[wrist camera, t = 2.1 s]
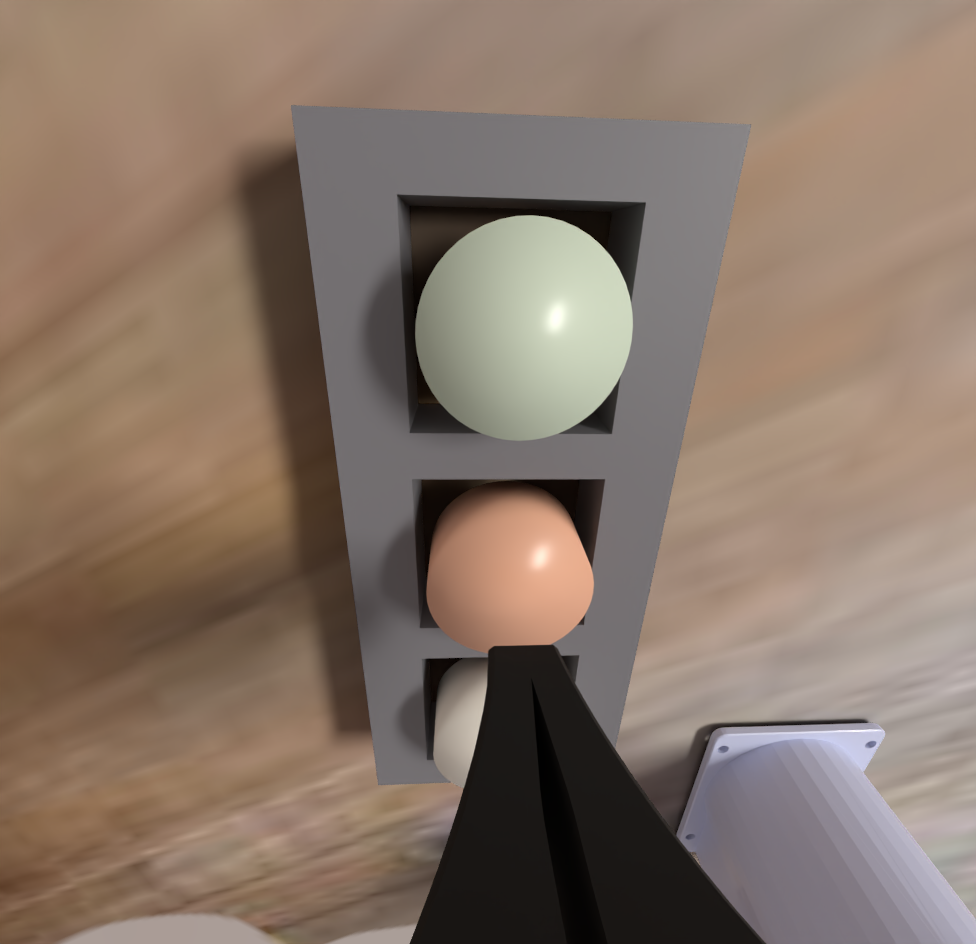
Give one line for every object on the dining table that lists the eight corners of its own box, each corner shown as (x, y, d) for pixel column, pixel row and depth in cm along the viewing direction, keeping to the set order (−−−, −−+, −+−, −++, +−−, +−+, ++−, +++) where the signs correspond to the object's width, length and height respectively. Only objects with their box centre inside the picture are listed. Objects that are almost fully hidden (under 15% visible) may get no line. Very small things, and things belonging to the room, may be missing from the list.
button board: (592, 718, 20) (608, 776, 18) (387, 725, 20) (378, 785, 18) (694, 149, 11) (751, 124, 9) (326, 135, 11) (290, 105, 9)
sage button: (591, 410, 12) (616, 440, 10) (427, 409, 12) (419, 440, 10) (614, 225, 11) (650, 218, 9) (420, 219, 10) (409, 211, 8)
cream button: (552, 731, 18) (562, 791, 16) (438, 735, 18) (435, 796, 16) (562, 648, 16) (576, 703, 14) (435, 650, 16) (431, 707, 14)
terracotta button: (567, 600, 15) (583, 652, 13) (433, 602, 15) (429, 656, 13) (582, 480, 13) (604, 521, 11) (429, 480, 13) (422, 522, 11)
